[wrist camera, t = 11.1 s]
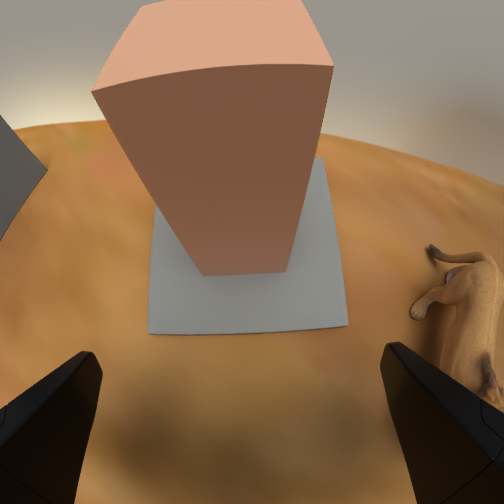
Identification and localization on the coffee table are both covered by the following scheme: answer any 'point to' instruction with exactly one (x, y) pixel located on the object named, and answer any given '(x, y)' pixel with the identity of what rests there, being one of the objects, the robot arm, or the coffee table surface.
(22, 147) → the screen
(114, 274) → the coffee table surface
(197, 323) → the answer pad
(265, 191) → the salmon pink tall block
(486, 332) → the lion figurine
